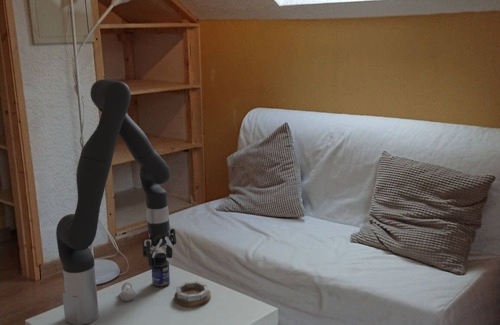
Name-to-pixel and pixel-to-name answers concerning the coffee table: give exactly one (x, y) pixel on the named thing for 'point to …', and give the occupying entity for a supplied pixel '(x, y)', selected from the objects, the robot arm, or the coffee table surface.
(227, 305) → the coffee table surface
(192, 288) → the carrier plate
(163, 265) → the pill bottle
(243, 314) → the coffee table surface
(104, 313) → the coffee table surface
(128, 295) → the white head bust
